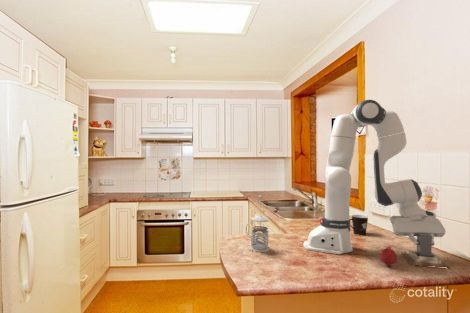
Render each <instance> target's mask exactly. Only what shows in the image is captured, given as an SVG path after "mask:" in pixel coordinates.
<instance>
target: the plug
mask: <svg viewBox="0 0 470 313" xmlns="http://www.w3.org/2000/svg"><path fill="white" fill-rule="evenodd" d="M416 239H418V240H419V242H420V244H419V245H416V251H417V254H418V255H419V256H422V257H431V252H432V247H433V246H432V236H431V235H430V234H428V233H417V236H416Z"/></svg>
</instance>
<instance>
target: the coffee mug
mask: <svg viewBox="0 0 470 313" xmlns="http://www.w3.org/2000/svg"><path fill="white" fill-rule="evenodd" d="M349 219H350V221H352V223H351V224H352V225H351V224H350V228H352V231H353V234H354V235H356V234H359V235H358V236H365V235H364V234H366V235H367V228H368V227H367V226H368V220H369V216H368V215H362V214H352V215H351V218H349Z"/></svg>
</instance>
